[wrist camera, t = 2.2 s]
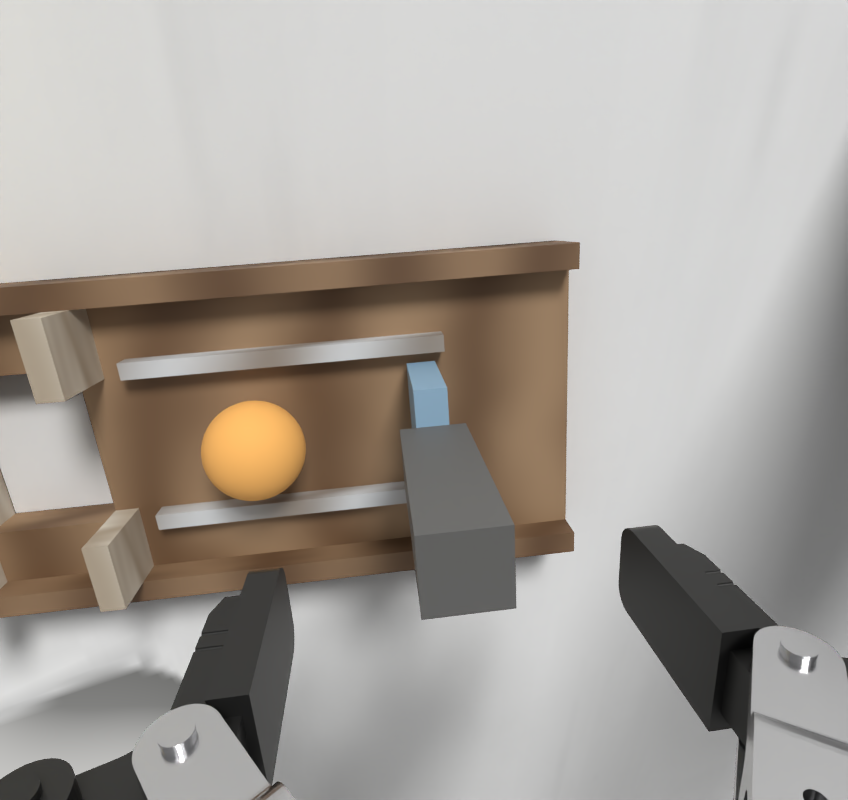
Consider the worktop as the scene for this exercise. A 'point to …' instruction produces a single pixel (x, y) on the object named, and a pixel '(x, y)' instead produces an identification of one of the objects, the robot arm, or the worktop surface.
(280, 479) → the ball
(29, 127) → the worktop surface
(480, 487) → the bar
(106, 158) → the worktop surface
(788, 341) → the worktop surface
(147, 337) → the board
